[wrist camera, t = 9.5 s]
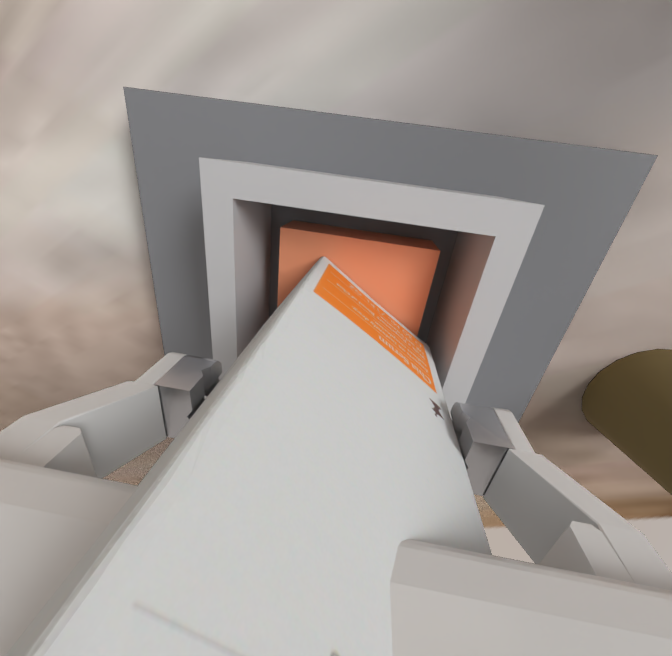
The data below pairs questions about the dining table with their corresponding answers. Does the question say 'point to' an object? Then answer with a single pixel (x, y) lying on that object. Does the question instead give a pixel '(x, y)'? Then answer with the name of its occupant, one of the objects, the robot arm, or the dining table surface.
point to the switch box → (376, 226)
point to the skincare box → (279, 499)
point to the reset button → (363, 265)
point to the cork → (636, 410)
